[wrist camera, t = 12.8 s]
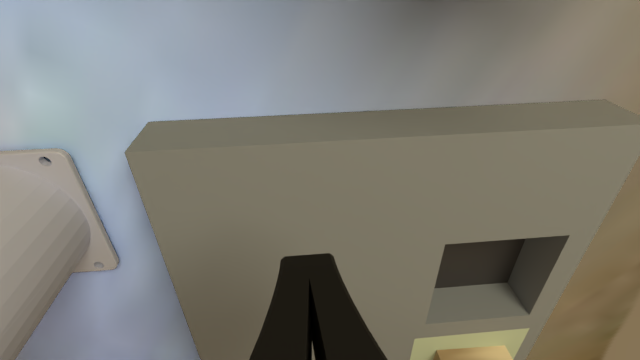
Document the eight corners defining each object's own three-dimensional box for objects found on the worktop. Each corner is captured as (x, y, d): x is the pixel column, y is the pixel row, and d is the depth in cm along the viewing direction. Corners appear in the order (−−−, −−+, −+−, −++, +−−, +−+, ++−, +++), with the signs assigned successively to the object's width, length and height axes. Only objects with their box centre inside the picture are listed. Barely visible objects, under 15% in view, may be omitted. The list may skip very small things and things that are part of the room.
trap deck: (241, 425, 34) (238, 462, 32) (148, 121, 17) (124, 152, 14) (469, 400, 36) (483, 435, 33) (605, 99, 18) (657, 123, 16)
